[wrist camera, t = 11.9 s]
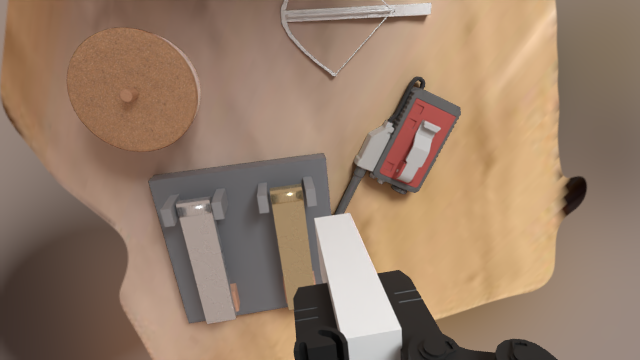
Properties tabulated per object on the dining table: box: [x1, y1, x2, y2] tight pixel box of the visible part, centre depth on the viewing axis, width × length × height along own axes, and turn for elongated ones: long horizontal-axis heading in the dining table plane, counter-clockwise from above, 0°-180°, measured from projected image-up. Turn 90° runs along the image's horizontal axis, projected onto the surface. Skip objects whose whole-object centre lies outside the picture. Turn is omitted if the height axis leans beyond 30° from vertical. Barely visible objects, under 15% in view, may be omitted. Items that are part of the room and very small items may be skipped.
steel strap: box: [176, 196, 237, 324], centre depth 42 cm, size 16×4×2 cm, turn 6°
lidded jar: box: [67, 28, 201, 152], centre depth 35 cm, size 11×11×9 cm
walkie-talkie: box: [334, 77, 461, 215], centre depth 44 cm, size 9×4×20 cm
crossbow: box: [280, 0, 431, 76], centre depth 39 cm, size 16×13×2 cm
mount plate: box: [148, 153, 331, 323], centre depth 44 cm, size 20×20×6 cm
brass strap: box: [270, 184, 314, 310], centre depth 43 cm, size 16×4×2 cm, turn 6°
